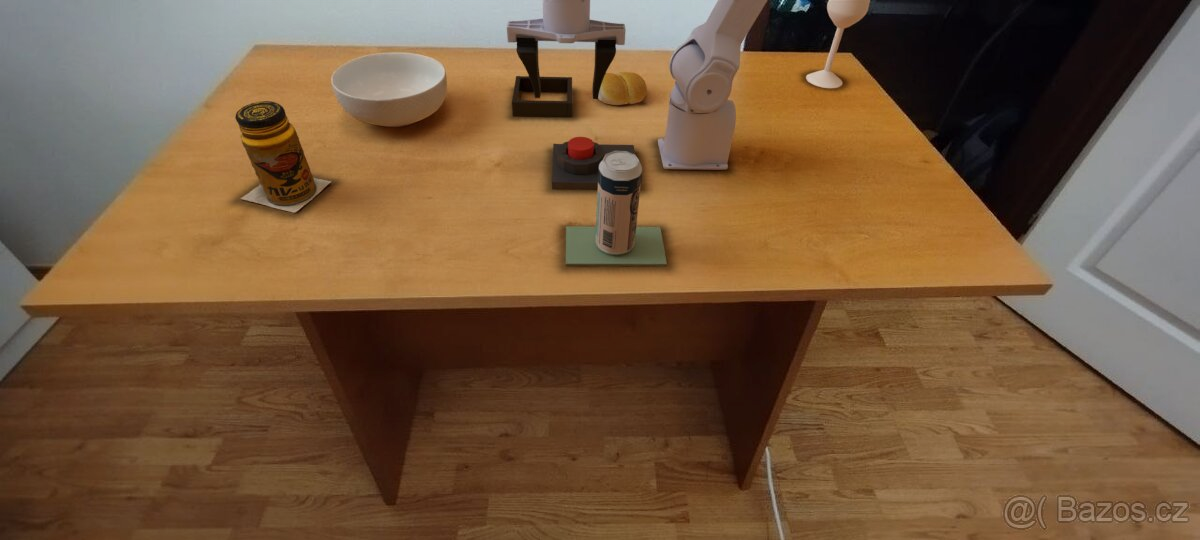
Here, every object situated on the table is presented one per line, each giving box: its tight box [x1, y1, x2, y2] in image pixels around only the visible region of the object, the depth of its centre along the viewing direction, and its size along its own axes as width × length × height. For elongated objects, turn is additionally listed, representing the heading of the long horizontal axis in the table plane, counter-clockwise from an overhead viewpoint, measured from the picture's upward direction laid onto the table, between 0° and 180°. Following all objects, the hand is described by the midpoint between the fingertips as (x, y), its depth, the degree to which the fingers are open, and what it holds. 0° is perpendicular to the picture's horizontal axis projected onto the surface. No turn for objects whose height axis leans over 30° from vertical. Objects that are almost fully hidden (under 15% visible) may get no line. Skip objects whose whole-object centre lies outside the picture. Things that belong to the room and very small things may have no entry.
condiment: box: [234, 100, 332, 213], centre depth 72 cm, size 7×8×12 cm
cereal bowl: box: [330, 51, 448, 128], centre depth 90 cm, size 17×17×7 cm
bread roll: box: [597, 71, 648, 106], centre depth 99 cm, size 8×9×4 cm
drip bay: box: [511, 75, 573, 118], centre depth 96 cm, size 10×10×2 cm
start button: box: [567, 136, 595, 160], centre depth 81 cm, size 4×4×2 cm
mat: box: [565, 225, 668, 267], centre depth 71 cm, size 12×7×1 cm, turn 92°
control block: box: [551, 140, 636, 191], centre depth 82 cm, size 12×10×3 cm
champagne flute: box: [805, 0, 871, 89], centre depth 100 cm, size 7×7×24 cm
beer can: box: [595, 151, 643, 255], centre depth 66 cm, size 5×5×12 cm
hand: (566, 95), depth 77 cm, fingers open, 7 cm apart
